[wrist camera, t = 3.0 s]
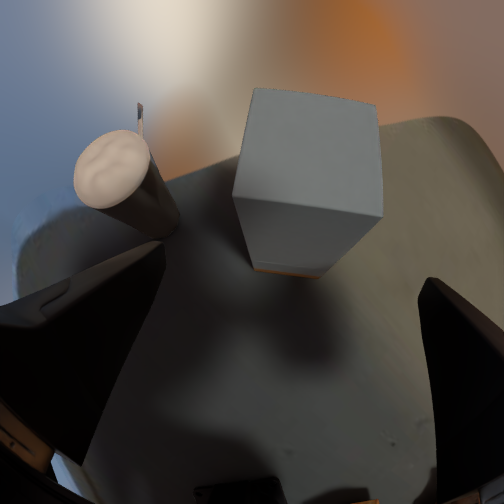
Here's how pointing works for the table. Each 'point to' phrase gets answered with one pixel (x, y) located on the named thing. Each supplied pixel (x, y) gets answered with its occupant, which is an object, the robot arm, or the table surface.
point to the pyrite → (369, 502)
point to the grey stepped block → (307, 180)
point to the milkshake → (126, 182)
